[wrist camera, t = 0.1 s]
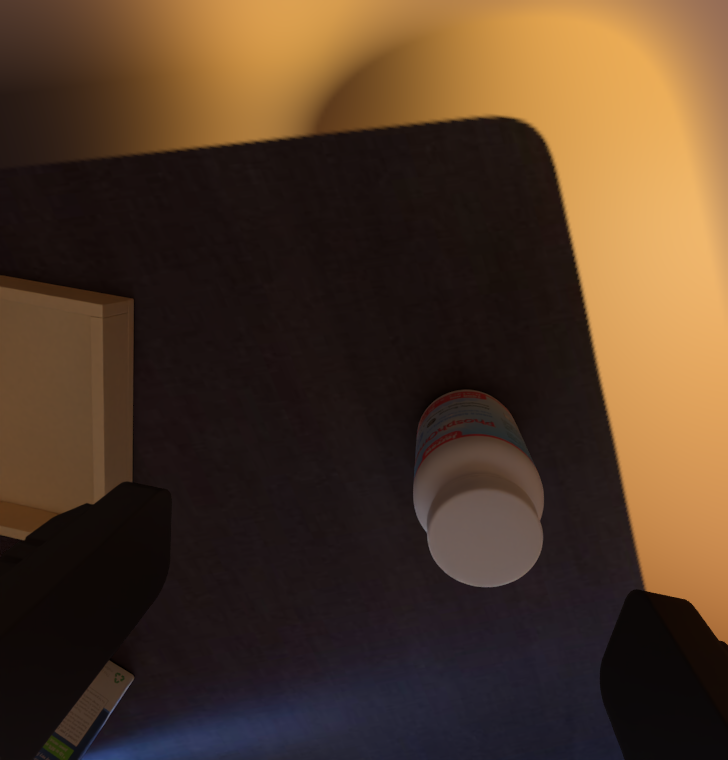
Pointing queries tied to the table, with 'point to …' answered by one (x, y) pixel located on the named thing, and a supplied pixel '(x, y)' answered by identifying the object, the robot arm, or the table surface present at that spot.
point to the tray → (62, 400)
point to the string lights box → (87, 715)
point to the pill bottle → (477, 490)
